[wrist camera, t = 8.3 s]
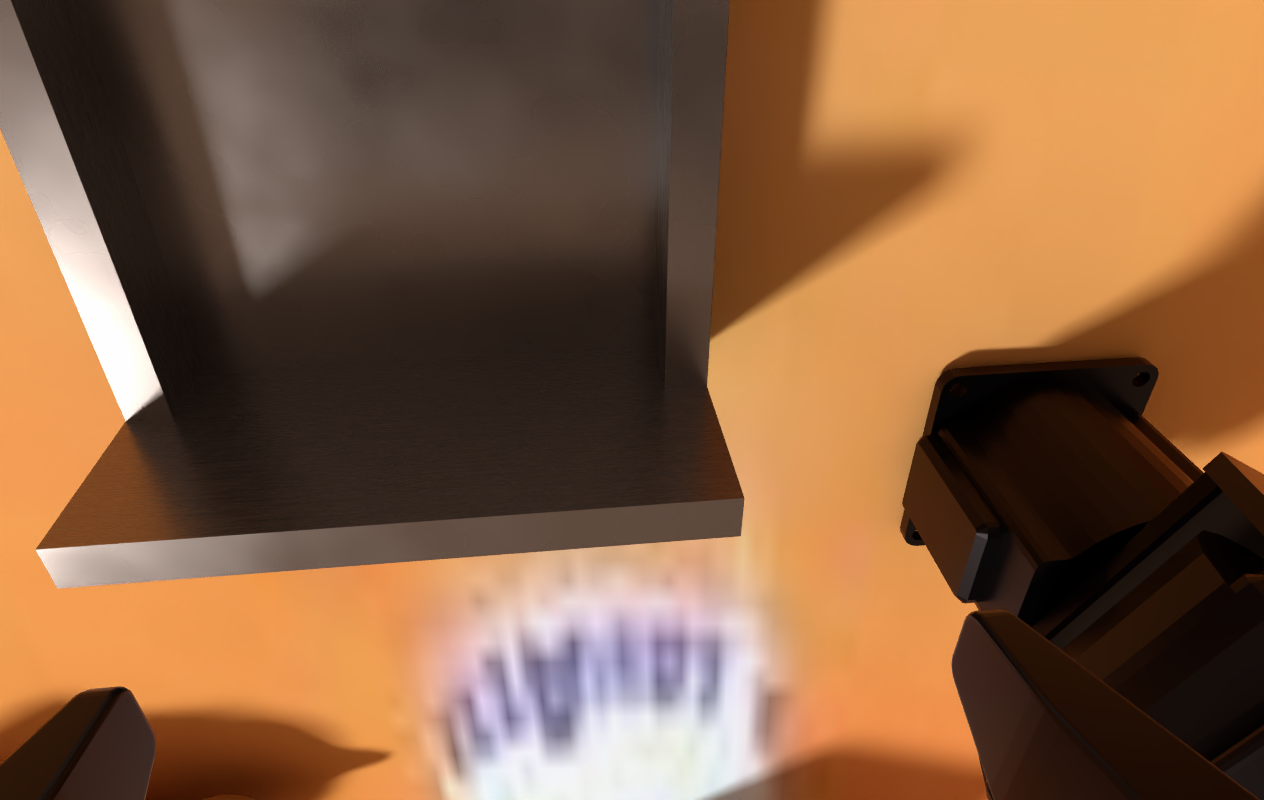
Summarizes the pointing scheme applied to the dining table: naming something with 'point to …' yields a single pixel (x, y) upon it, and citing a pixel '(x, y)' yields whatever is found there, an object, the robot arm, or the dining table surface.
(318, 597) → the dining table surface
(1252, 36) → the dining table surface
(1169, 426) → the dining table surface
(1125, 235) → the dining table surface
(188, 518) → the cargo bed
